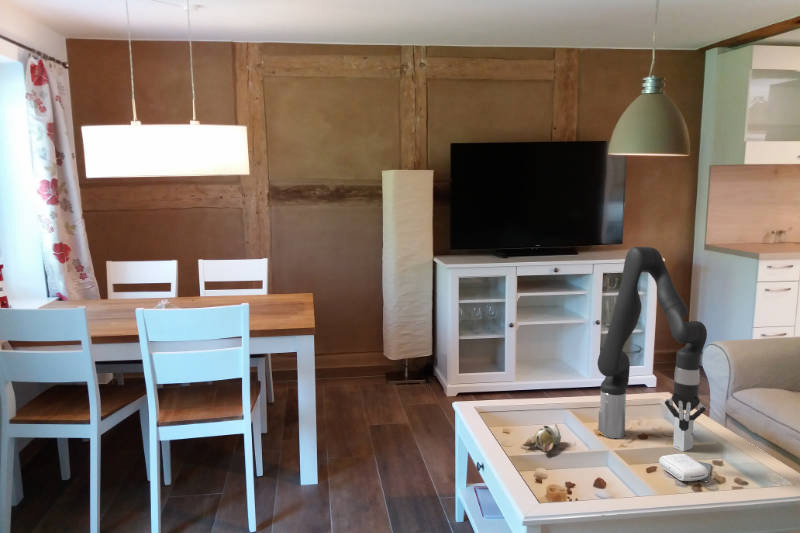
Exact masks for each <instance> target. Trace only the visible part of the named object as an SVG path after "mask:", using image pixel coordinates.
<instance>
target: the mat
mask: <svg viewBox="0 0 800 533" xmlns="http://www.w3.org/2000/svg"><path fill="white" fill-rule="evenodd" d="M696 461H697V460H696ZM697 462H698V463H700V464H701V465H703V466H705V467H706V469H707V471H708V476H707V477H705V478H704V479H700V481H699V482H702V481H708V482H709V479H710V475H711V468H712V463H710V462H709V463H708V462H703V461H700V460H699V461H697Z"/></svg>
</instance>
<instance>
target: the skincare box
mask: <svg viewBox="0 0 800 533" xmlns="http://www.w3.org/2000/svg"><path fill="white" fill-rule="evenodd" d="M685 415H686V412H684V419H685ZM673 417H674V416H673ZM694 421H695V420H690V421H689V428H688V430H686V431H681V429H680V428H679V418H677V417H674V418H673V442H672V443H673V445H672V446H673V449H676V450H678V451H681V452H686V451H689V450H691V449H693V447H694Z"/></svg>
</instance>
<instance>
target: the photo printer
mask: <svg viewBox="0 0 800 533" xmlns="http://www.w3.org/2000/svg"><path fill="white" fill-rule="evenodd" d="M658 463H659V465H660V468H662V469H663V470H665V471H666V472H668V473H669V474H671V475H672V476H673V477H675V478H676V479H677V480H679V481H682V482H683V481H684V482H694V481H698V480H700V479H704V478H705V477H707V476H708V471H707V469H706V467H705V466H703V465H701V464H700V463H698V462H697V460H695V459H693V458H692V457H690V456H688V455H687V454H684V453H674V454H667V455H661V456H660V458H659V460H658Z"/></svg>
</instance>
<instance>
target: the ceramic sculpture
mask: <svg viewBox="0 0 800 533" xmlns="http://www.w3.org/2000/svg"><path fill="white" fill-rule="evenodd" d="M561 441H562V436H561V433H560V429H559V428H558V425H557V423H554V424H552V425H544V426H542V427H541V428H540V429H538V430H537V431H535V433H534V435H533V436H531V437H529V438H528V439H527V440H526V442H525V443H523V444H522V446H524V447H528V448H533V447H537V448H538V449H540V450H542V452H543V453H544V454H545V453H546V454H549V453H551V452H552V451H553V449H554V447H555V445H559V444H560V442H561Z"/></svg>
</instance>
